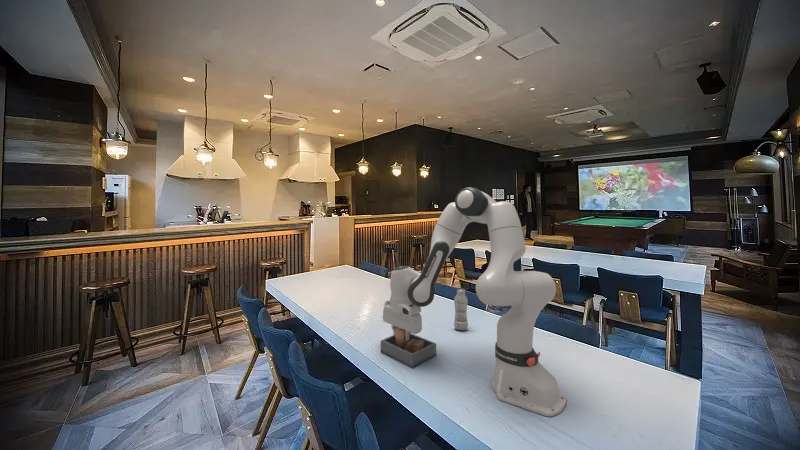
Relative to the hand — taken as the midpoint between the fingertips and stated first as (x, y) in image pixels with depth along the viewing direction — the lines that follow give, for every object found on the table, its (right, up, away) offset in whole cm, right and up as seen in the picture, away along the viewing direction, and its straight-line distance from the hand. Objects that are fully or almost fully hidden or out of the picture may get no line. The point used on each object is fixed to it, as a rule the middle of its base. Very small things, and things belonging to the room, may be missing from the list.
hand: (401, 337), depth 128 cm
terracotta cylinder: (0, -3, 0) cm, 3 cm away
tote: (+3, -6, -2) cm, 7 cm away
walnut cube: (+6, -5, -5) cm, 9 cm away
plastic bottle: (+29, -4, +22) cm, 37 cm away
